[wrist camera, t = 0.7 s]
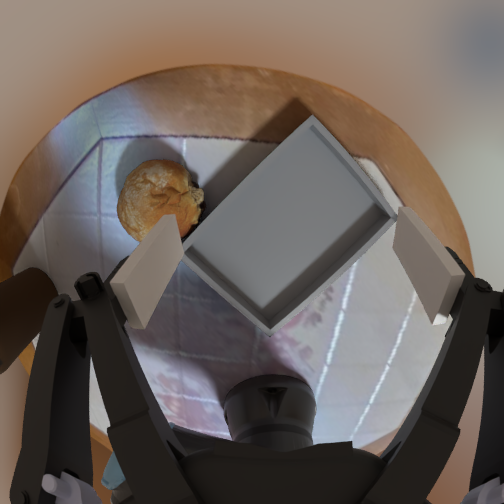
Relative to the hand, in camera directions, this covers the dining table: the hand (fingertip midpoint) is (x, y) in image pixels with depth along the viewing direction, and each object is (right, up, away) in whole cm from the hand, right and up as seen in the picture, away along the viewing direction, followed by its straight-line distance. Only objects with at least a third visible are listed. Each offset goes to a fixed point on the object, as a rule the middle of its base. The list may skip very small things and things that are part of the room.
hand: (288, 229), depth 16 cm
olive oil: (-37, -8, +20) cm, 43 cm away
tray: (+2, +2, +18) cm, 18 cm away
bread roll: (-13, +5, +17) cm, 22 cm away
